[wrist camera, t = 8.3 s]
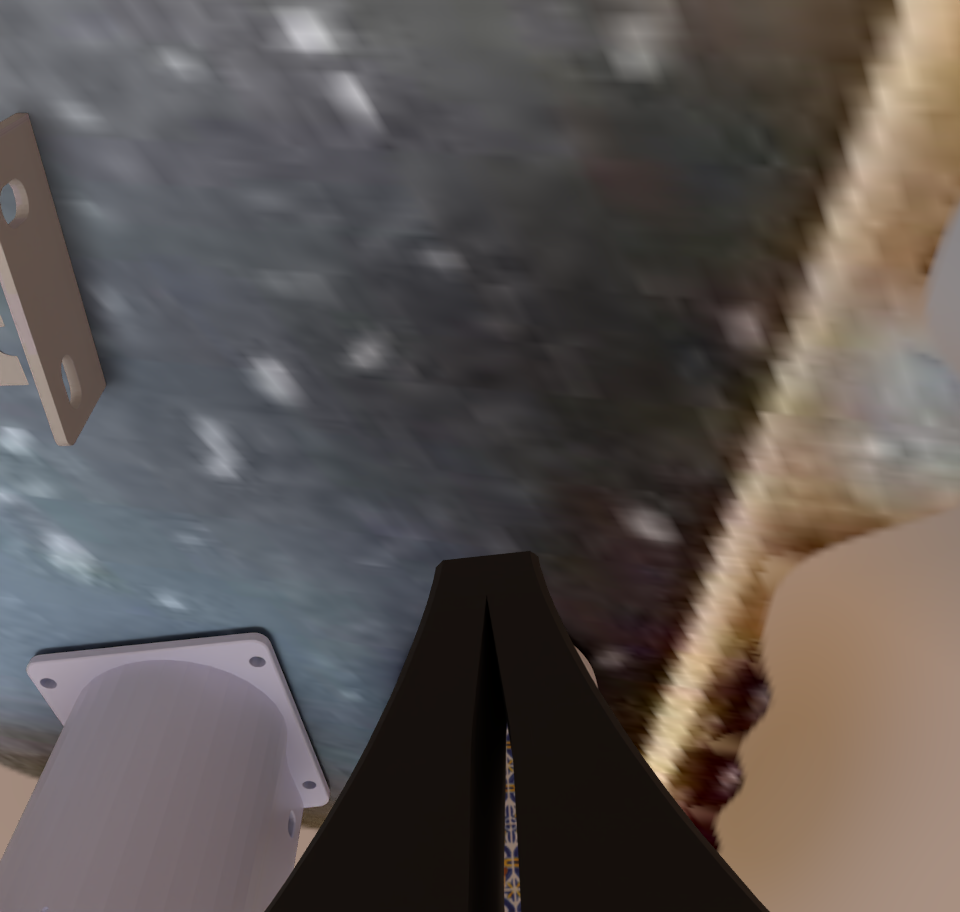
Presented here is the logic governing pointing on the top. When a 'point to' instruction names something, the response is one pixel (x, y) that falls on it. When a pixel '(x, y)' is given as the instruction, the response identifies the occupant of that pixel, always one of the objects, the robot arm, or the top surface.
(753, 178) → the top surface
